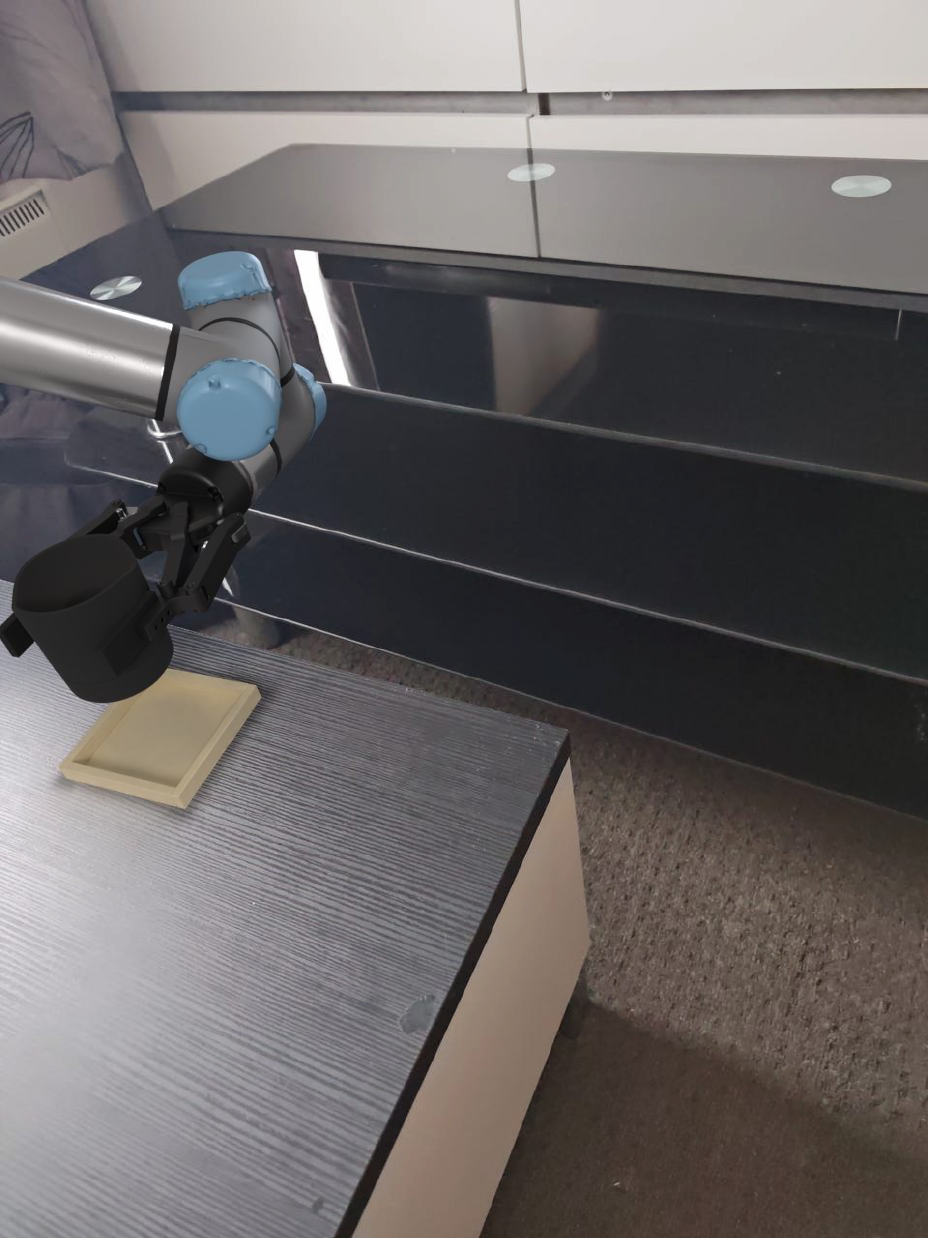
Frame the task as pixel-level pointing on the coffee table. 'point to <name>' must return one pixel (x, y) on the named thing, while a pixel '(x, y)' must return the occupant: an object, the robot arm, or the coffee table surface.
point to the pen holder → (87, 614)
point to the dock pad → (163, 737)
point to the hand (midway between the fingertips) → (55, 653)
